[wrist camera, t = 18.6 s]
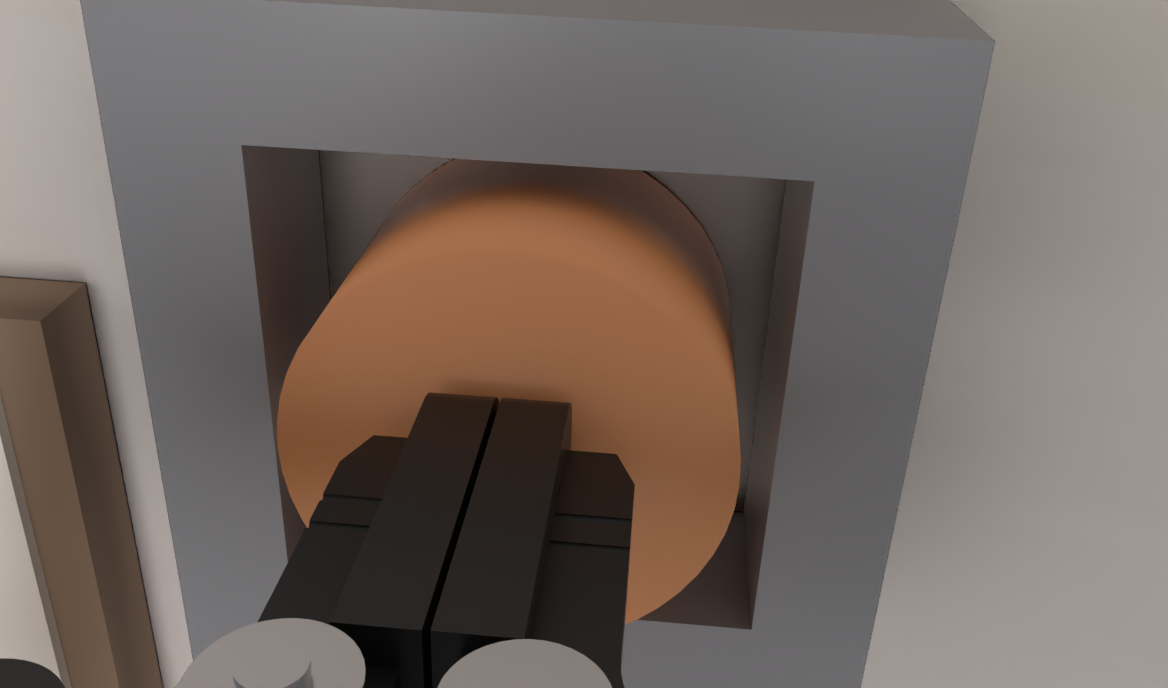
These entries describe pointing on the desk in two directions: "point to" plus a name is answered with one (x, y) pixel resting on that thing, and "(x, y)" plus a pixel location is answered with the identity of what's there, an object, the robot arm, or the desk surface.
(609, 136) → the button housing
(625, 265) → the button
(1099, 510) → the desk surface
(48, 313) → the board
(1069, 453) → the desk surface
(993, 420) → the desk surface
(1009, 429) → the desk surface
